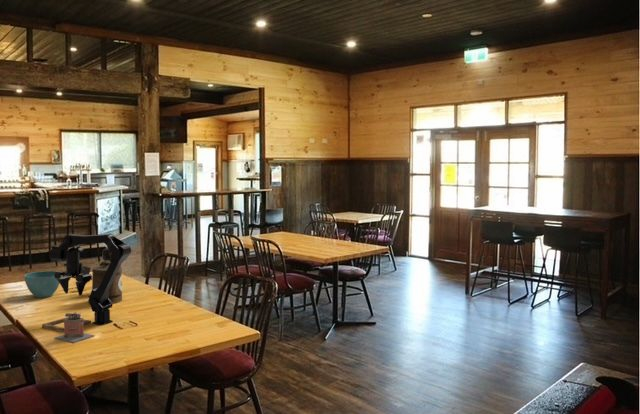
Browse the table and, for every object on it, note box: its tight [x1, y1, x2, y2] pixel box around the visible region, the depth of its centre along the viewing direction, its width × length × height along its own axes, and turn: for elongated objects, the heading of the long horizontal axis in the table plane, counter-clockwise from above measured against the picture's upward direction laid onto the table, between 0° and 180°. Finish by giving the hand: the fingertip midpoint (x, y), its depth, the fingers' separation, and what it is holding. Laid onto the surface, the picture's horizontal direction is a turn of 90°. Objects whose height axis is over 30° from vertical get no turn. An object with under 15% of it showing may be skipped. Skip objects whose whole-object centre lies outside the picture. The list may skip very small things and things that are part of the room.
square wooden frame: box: [41, 317, 92, 333], centre depth 246 cm, size 14×14×2 cm
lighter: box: [63, 312, 85, 338], centre depth 229 cm, size 8×3×10 cm, turn 93°
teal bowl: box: [23, 270, 60, 299], centre depth 301 cm, size 18×18×12 cm
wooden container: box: [91, 260, 123, 304], centre depth 291 cm, size 15×15×22 cm
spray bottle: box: [98, 247, 112, 266], centre depth 311 cm, size 10×10×25 cm
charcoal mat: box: [53, 332, 95, 344], centre depth 230 cm, size 12×10×1 cm
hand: (73, 294), depth 253 cm, fingers open, 9 cm apart
